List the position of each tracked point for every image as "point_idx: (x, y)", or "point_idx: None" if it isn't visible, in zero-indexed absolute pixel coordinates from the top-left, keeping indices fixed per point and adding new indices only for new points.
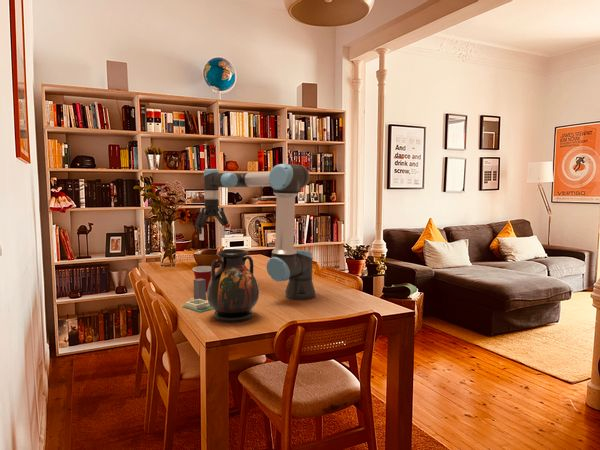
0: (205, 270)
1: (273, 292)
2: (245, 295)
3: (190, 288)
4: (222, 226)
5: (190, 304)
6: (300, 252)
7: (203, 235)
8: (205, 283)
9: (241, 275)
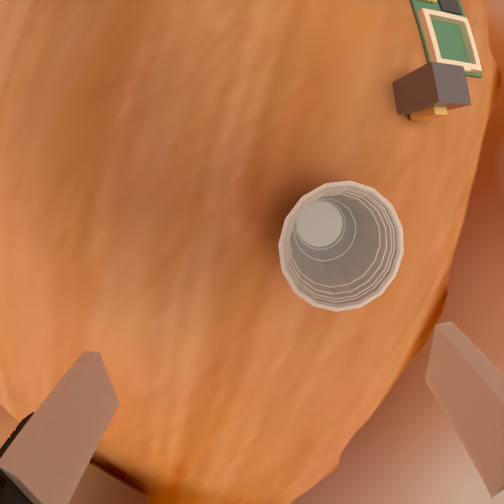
0: (301, 278)
1: (122, 14)
2: None
3: None
4: (31, 479)
5: (473, 46)
6: None
7: (472, 359)
8: (423, 66)
9: None
